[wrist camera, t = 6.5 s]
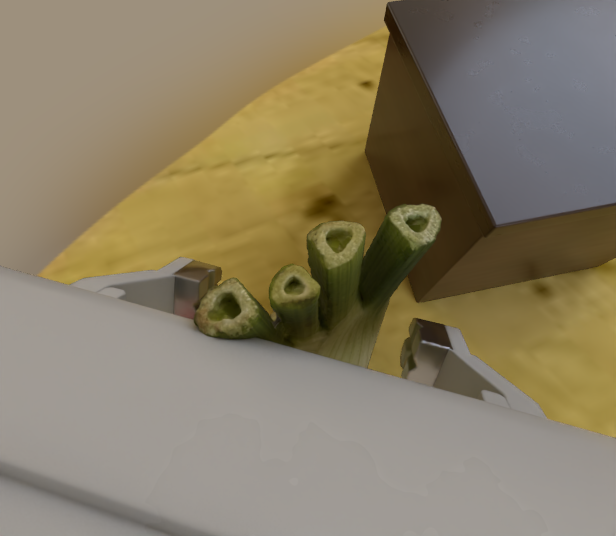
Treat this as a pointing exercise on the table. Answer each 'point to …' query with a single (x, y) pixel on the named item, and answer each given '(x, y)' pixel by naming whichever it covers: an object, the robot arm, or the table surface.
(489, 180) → the stand
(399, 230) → the fennel bulb
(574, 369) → the table surface
